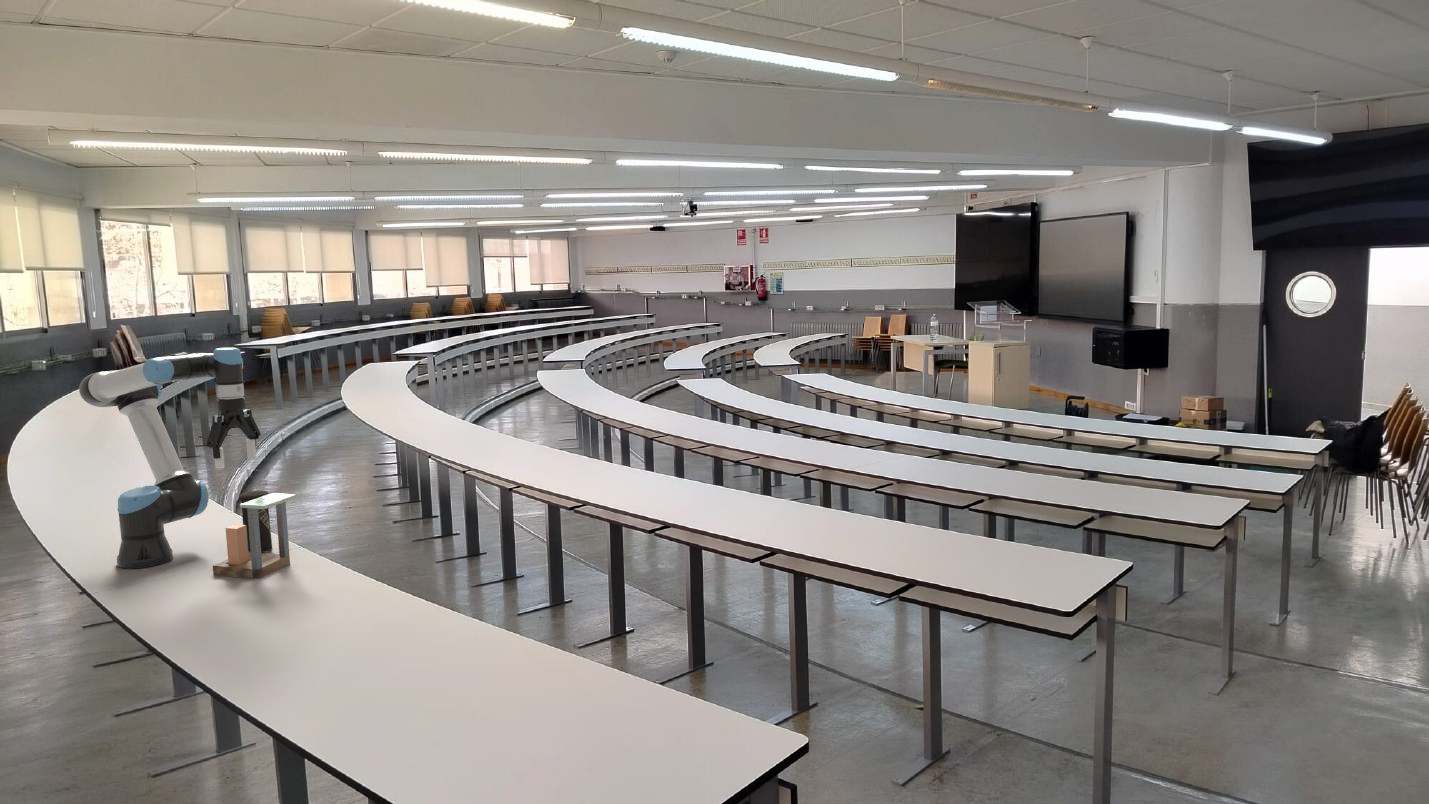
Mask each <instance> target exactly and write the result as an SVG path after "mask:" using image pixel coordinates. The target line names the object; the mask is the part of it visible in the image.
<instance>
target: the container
mask: <svg viewBox="0 0 1429 804" xmlns="http://www.w3.org/2000/svg"><path fill="white" fill-rule="evenodd" d="M268 494H270V492H269V491H267V490H262V489H261V490H257V489H256V490H250V491H249V490H248V491H245V492H241V494H240V495H238V499H239V501H241V502H240V504H242V503H245V502H248V501H251V500H254V499H256V498H259V497H262V496H265V495H268ZM269 511H270V510H269V508H267V509H258V517H259V530H260V543H261V553H267V552H270V551H271V550H273V541H272V532H271V531H272V530H271V521H270V512H269ZM241 514H242V515H241V517H242V525H246V528H247V541H248V552H251V551H250V538H249V525H248V513H247V508H241Z"/></svg>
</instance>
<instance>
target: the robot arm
mask: <svg viewBox="0 0 1429 804" xmlns="http://www.w3.org/2000/svg"><path fill="white" fill-rule="evenodd" d="M243 371H244V370H243V359H242V353H241V349H240V348H237V347H219V348H215V349H213V353H206V352H193V353H190V354H185V355H174V356H158V357H154V358H149V359H147V360H145V362H143V363H140V364H139V363H138V364H136V365H133V366H128V367H125V368H122V369H116V370H108V371H98V372H97V371H96V372H94V373H90V374H89V375H86V376H85V377H84V378H83V379H82V380H81V381H80V384H79V386H78V387H79V389H78V390H79V391H78V393H79V394H80V397H81V398H82V400H83V401H84V402H85V403H87V404H89V405H91V406H93V407H97V408H98V407H99V408H111V407H117V409H118V411H119V413H120V414H121V415H124V416H126V417H127V418H128V420H129V423H130V425H131V427H132V429H133V432H134V435H135V436H136V438H137V441H138V444H139V445H140V447H141V450H142V452H143V455H144V457H145V459H146V462H147V463H148V465H149V466H148V467H149V468H150V471H151V472H152V474H153V475H152V476H154V477H153V478H154V479H155V482H154V485H144V486H139V487H135V488H132V489H129V490H127V491H124V492H123V493H121V494H120V495H119V497H118V498H117V512H118V522H119V528H120V539H121V542H120V544H119V545H120V546H119V552H118V555H117V557H116V566H117V567H118V568H121V569H129V570H130V569H132V570H133V569H143V568H150V567H154V566H159V565H162V564H165V563H168V562H170V561H171V560H173V558H174V552H173V549H172V548H171V545H170V543H169V541H168V539H167V537H166V535H165V525H167V524H170V523H174V522H177V521H181V520H185V519H191V518H192V517H193V518H194V516H195V517H196V516H198V515H201V514H202V513H203V512H204V511H205V510H206V508H207V507H208V503H209V500H210V499H209V498H210V496H209V495H210V494H209V490H208V487H207V485H206V484H205V482H203V481H202V480H199V479H194V476H193V474H192V472H188V471H186V470H185V469H184V467H183V465H182V462H181V460H180V458H179V456H178V453H177V451H176V449H175V447H174V445H173V442H172V440H171V438H170V436H169V433H168V431H167V428H166V427H165V424H164V421H163V420H162V418H161V415H160V413H159V410H158V409H157V407H158V406H157V405H158V404H159V403H160V401H159V398H160V397H161V394H162V390H161V388H162V386H161V385H163V384H166V383H167V384H168V383H171V382H176V381H178V382H179V381H184V380H186V381H187V380H195V379H202V378H215V385H216V388H215V389H216V397H217V398H218V399H217V409H218V411H220V415H213V416H212V422H211V423H212V424H211V428H210V431H209V435H208V438H207V441H206V445H205V446H206V447H207V448H209V449H212V456H213V457H212V458H213V459H214V466H215V467H214V468H215V469H219V470H224V469H225V467H226V466H225V456H224V455H225V454H224V447H221V446H223V444H224V441H225V439H226V437H227V435H228V433H229V430H231V429H232V428H235V427H238V428H239V429H240V431H242V433H243V434H244V435H245V436H246V441H245V444H246V454H247V455H246V457H247V458H246V459H247V460H252V461H254V460H255V461H256V460H257V451H256V449H257V440H258V439H260V436H261V431H260V429H259V427H258V425H257V423H256V420H255V419H254V416H253V413H252V410H251V409H248V408H247V409H245V408H246V399H245V397H244V396H245V387H244V373H243ZM247 438H248V439H247Z"/></svg>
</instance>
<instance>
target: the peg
mask: <svg viewBox="0 0 1429 804" xmlns="http://www.w3.org/2000/svg"><path fill="white" fill-rule="evenodd" d="M225 539H226V548H227V549H226V551H227V559H228V564H233V565H241V564H243V563H246V562H248V561H249V553H248V541H247V528H246V525H243V524H232V525H230V526H228V527H225Z"/></svg>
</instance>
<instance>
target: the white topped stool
mask: <svg viewBox="0 0 1429 804" xmlns="http://www.w3.org/2000/svg"><path fill="white" fill-rule="evenodd" d="M296 498H297V494H294V493H293V494H292V493H282V492H281V493H278V492H272V493H271V492H270V493H269V494H268V495H265V496H262V497H259V498H256V499H254V500H251V501H248V502H245V503H242V504H241V503H240V504H239V508H241V509H242V508H247V513H248V525H249V538H250V551H251V563H252V569H253V570H254V571H255V569H256V571H255V572H256V573H254V575H255V576H256V575H257V572H258V571H260V569H261V570H262V556H261V543H260V530H259V517H258V509H267V508H268V509H269V508H271V507H272V508H273V507H274V506H275V512H276V513H275V514H276V527H277V528H276V529H277V539H278V540H277V541H278V553H279V555H280V557H286V556H290V543H289V542H290V541H289V531H288V516H287V502H288V501H291V500H293V499H296ZM287 566H288V565H286V566H285V567H287ZM258 569H259V570H258ZM253 570H252V571H253ZM258 573H260V572H258ZM252 574H253V573H252ZM261 574H262V573H261ZM252 576H253V575H252ZM257 576H258V577H259V575H257ZM260 576H261V575H260ZM258 577H256V578H255V577H253V578H254V579H253V580H259V579H261V578H258ZM257 578H258V579H257Z"/></svg>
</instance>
